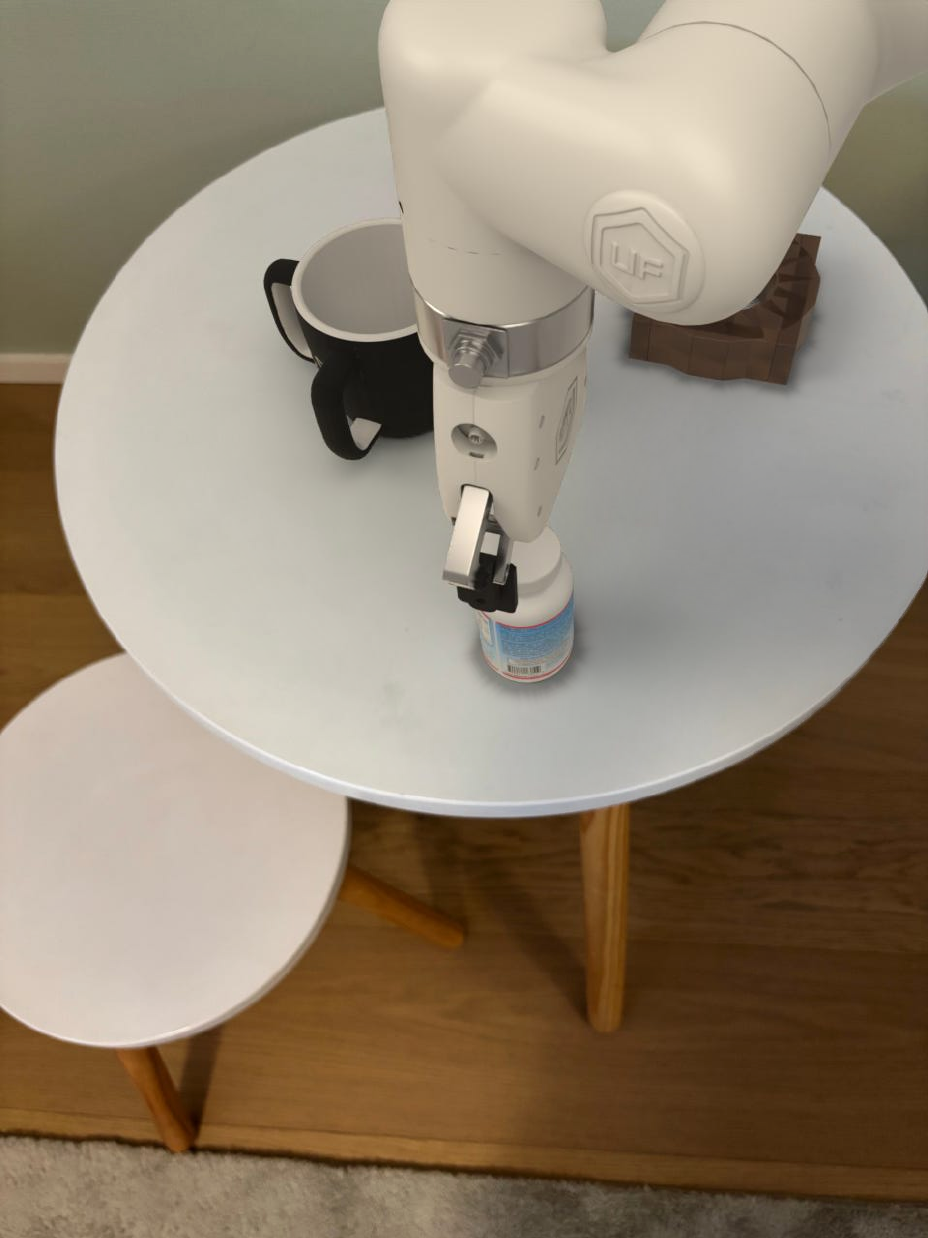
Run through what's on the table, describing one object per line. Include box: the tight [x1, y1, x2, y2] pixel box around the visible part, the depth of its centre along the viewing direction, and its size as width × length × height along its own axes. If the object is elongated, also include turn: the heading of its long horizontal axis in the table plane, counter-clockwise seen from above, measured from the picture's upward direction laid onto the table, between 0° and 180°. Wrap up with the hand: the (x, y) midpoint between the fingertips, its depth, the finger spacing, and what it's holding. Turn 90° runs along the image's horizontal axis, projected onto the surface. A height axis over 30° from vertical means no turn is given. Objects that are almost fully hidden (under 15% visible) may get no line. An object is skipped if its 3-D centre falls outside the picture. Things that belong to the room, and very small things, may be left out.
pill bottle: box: [475, 524, 575, 683], centre depth 64 cm, size 6×6×11 cm
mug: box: [262, 217, 434, 461], centre depth 75 cm, size 16×16×12 cm
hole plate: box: [629, 232, 822, 386], centre depth 80 cm, size 13×13×4 cm
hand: (514, 530), depth 58 cm, fingers open, 9 cm apart
